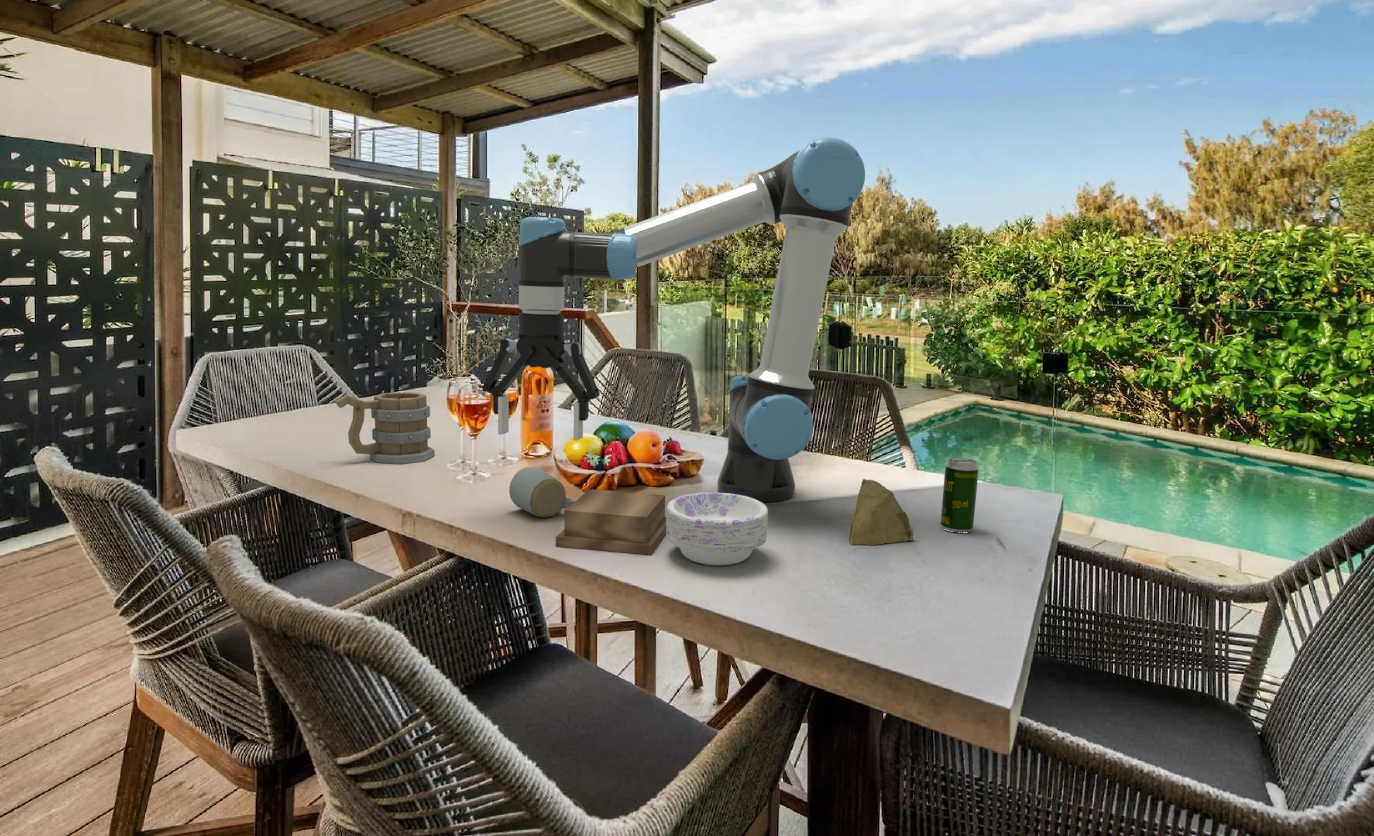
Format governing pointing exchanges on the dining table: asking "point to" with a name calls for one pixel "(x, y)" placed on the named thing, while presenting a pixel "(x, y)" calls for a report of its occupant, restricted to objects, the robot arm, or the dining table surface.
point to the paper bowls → (716, 527)
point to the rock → (878, 517)
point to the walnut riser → (614, 522)
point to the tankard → (392, 427)
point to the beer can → (959, 494)
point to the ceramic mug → (538, 492)
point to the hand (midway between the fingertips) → (540, 436)
